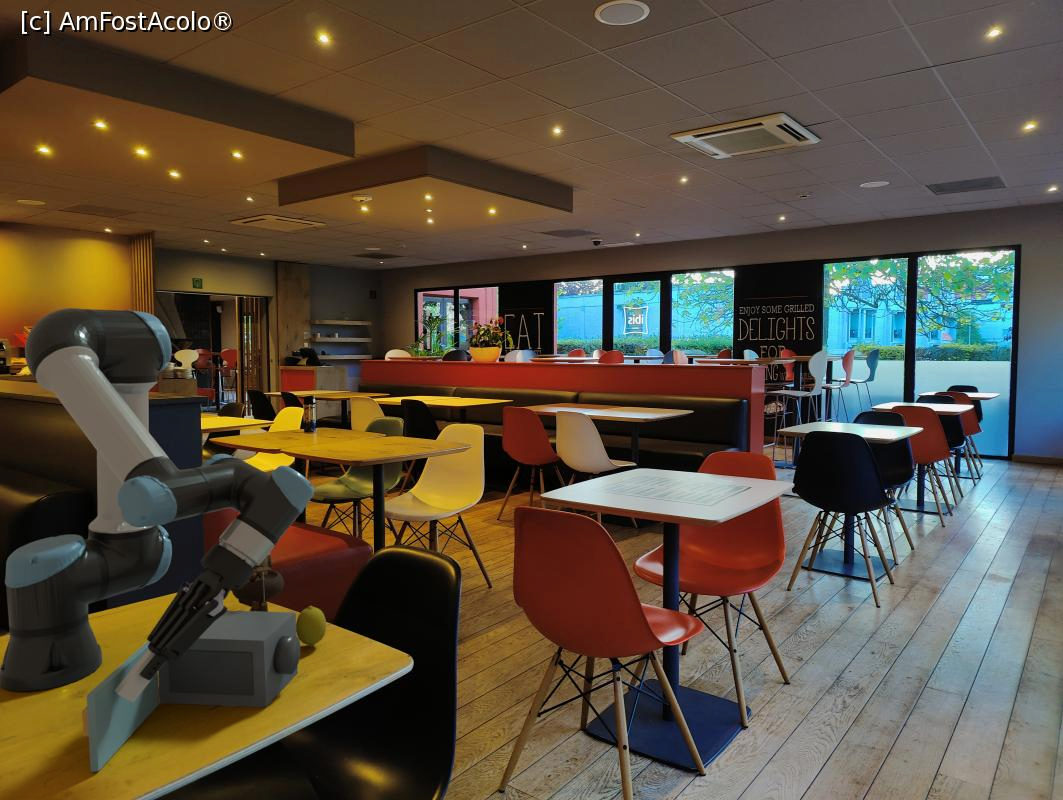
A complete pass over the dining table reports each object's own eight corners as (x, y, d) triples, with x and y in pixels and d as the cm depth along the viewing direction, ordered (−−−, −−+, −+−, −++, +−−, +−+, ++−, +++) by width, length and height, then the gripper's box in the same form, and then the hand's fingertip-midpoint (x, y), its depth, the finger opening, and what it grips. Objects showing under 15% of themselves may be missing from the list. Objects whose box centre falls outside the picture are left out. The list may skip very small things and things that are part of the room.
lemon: (318, 638, 140) (316, 598, 140) (331, 646, 136) (330, 606, 136) (291, 646, 136) (290, 606, 136) (305, 655, 132) (303, 613, 132)
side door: (146, 703, 114) (143, 638, 114) (160, 702, 114) (157, 638, 114) (81, 772, 96) (77, 695, 95) (98, 771, 96) (94, 694, 95)
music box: (306, 649, 135) (294, 549, 132) (249, 673, 127) (235, 566, 125) (271, 627, 146) (260, 533, 143) (217, 647, 138) (204, 549, 136)
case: (158, 703, 115) (155, 637, 114) (200, 669, 127) (198, 609, 126) (277, 708, 113) (274, 641, 112) (308, 673, 125) (306, 612, 124)
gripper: (272, 577, 108) (160, 724, 98) (237, 559, 117) (131, 692, 107) (236, 550, 104) (115, 701, 93) (202, 534, 113) (88, 669, 103)
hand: (124, 696), depth 100 cm, fingers closed
